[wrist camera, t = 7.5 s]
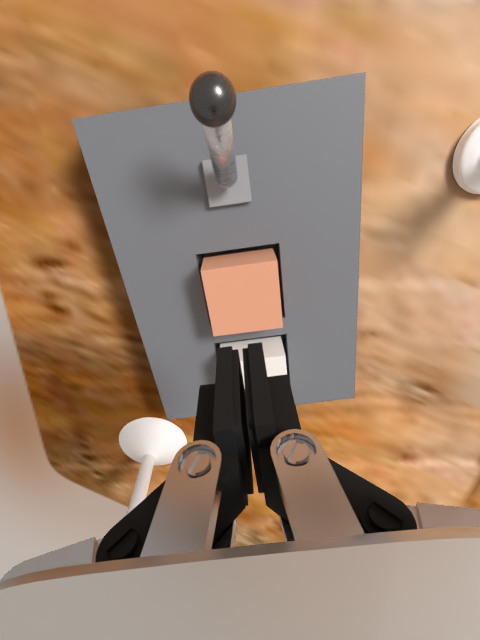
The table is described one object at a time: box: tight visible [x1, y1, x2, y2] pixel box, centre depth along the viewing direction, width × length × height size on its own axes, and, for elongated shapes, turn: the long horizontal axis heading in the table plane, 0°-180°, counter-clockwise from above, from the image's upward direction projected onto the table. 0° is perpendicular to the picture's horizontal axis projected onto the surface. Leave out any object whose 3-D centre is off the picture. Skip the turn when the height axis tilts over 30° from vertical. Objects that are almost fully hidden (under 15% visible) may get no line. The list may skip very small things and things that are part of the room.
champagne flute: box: [119, 417, 187, 514], centre depth 22 cm, size 7×7×24 cm
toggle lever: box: [189, 71, 238, 188], centre depth 15 cm, size 2×2×6 cm
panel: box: [72, 72, 366, 420], centre depth 23 cm, size 21×15×4 cm
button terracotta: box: [201, 248, 283, 336], centre depth 21 cm, size 4×4×2 cm
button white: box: [220, 336, 287, 388], centre depth 24 cm, size 4×4×2 cm
